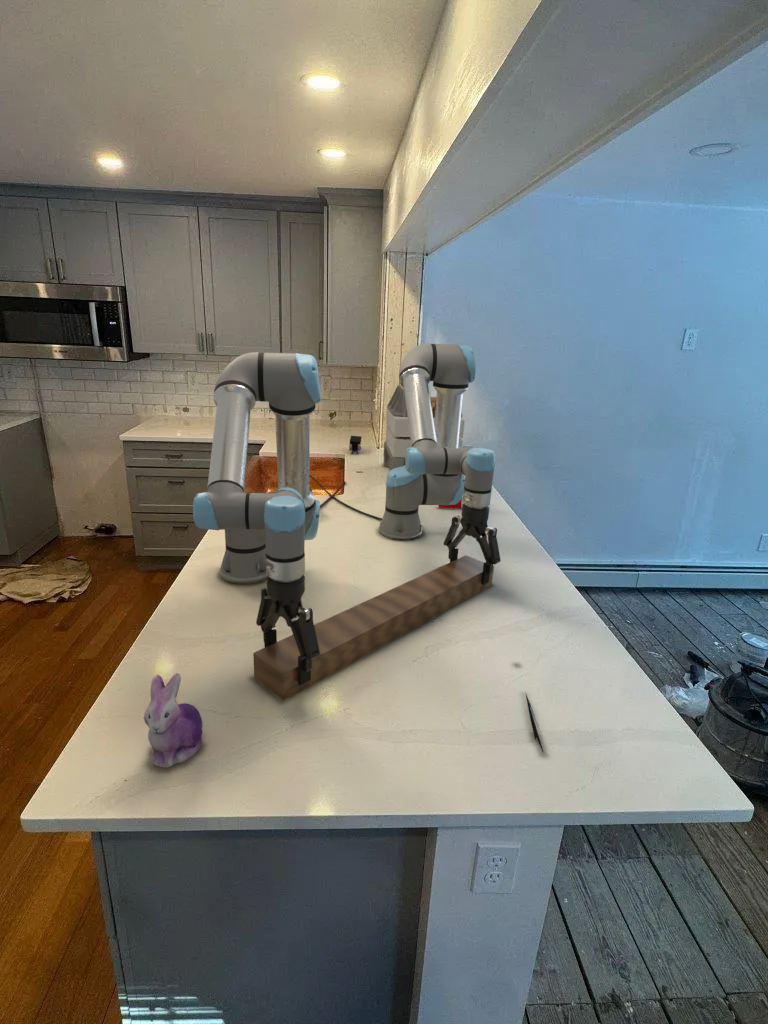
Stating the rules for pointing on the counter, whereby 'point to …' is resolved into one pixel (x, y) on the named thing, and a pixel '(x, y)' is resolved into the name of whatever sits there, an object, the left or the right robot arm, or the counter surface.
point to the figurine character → (355, 444)
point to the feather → (534, 723)
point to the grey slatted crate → (402, 429)
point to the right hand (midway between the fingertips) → (468, 576)
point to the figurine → (171, 724)
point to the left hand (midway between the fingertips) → (287, 669)
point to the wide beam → (369, 625)
